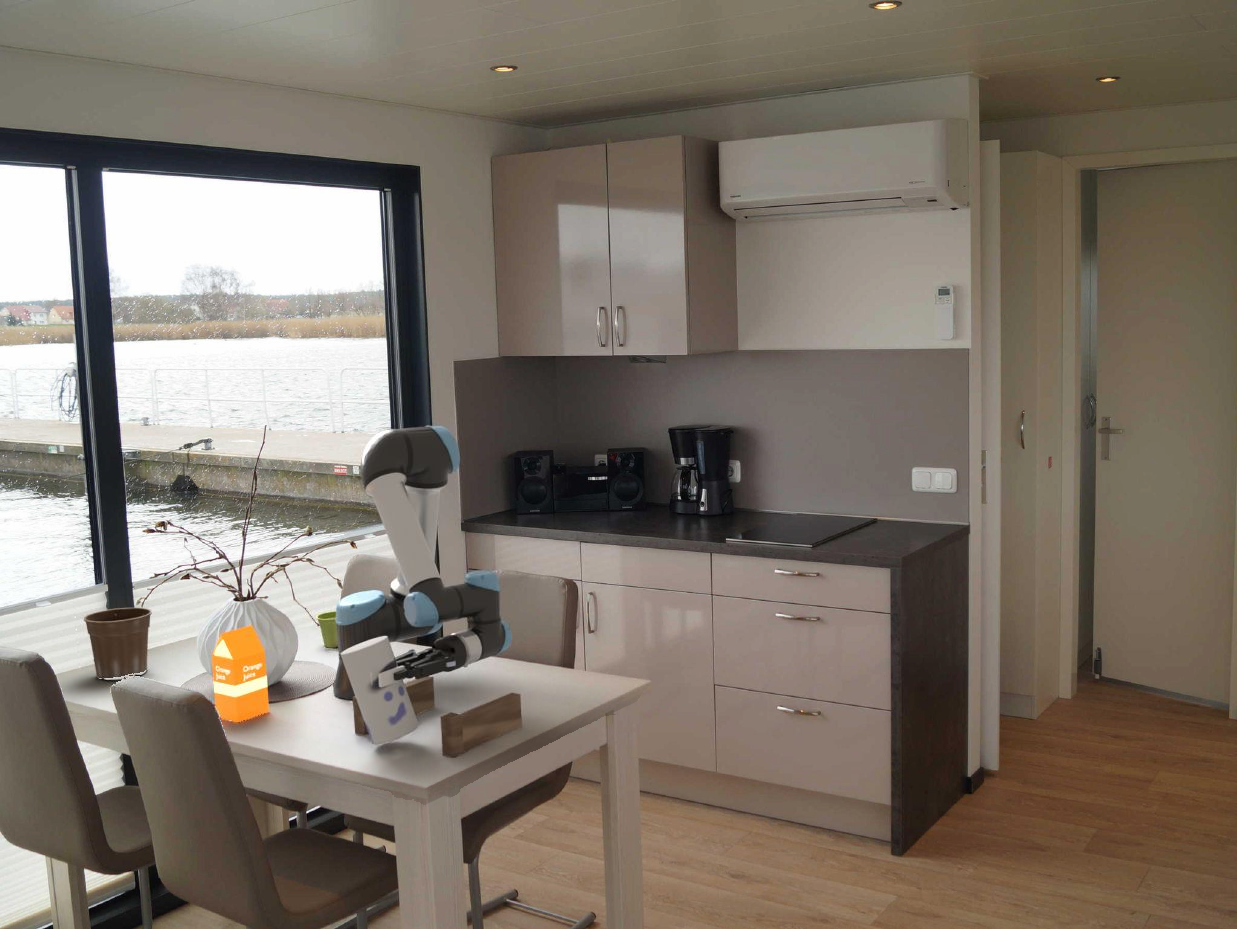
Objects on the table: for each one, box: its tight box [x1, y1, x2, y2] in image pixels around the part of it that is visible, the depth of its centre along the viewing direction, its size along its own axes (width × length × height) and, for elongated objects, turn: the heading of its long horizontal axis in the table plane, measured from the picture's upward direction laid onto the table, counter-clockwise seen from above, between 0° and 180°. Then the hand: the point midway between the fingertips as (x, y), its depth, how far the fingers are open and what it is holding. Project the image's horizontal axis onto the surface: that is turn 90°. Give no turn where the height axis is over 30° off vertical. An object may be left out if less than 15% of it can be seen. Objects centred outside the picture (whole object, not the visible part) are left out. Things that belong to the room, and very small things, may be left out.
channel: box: [352, 675, 523, 758], centre depth 244 cm, size 29×22×8 cm
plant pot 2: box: [315, 610, 338, 649], centre depth 318 cm, size 9×9×9 cm
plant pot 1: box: [83, 607, 153, 678], centre depth 295 cm, size 16×16×16 cm
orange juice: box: [211, 624, 270, 723], centre depth 258 cm, size 8×9×20 cm
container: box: [341, 636, 420, 746], centre depth 234 cm, size 10×10×20 cm
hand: (375, 679), depth 228 cm, fingers closed on container, 2 cm apart
